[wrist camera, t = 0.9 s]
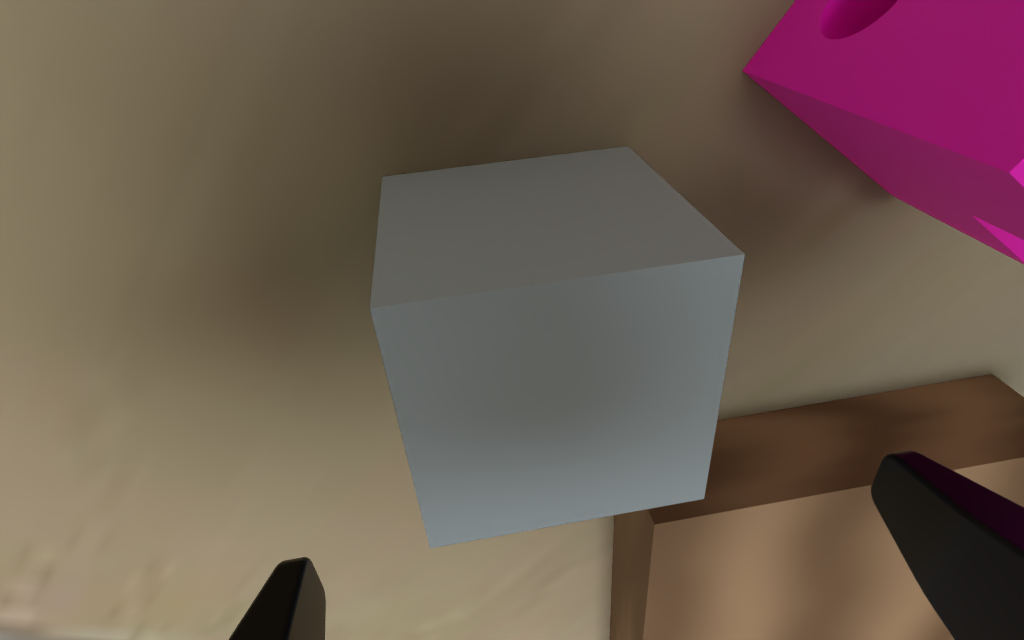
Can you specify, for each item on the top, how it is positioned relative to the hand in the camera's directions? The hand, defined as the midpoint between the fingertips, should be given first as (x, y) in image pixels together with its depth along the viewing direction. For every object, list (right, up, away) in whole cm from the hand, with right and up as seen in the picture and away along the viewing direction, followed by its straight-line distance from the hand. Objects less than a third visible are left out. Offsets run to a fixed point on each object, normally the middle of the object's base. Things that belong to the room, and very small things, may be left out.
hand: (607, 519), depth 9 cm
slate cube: (-1, +4, +7) cm, 8 cm away
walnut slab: (+10, -5, +16) cm, 19 cm away
